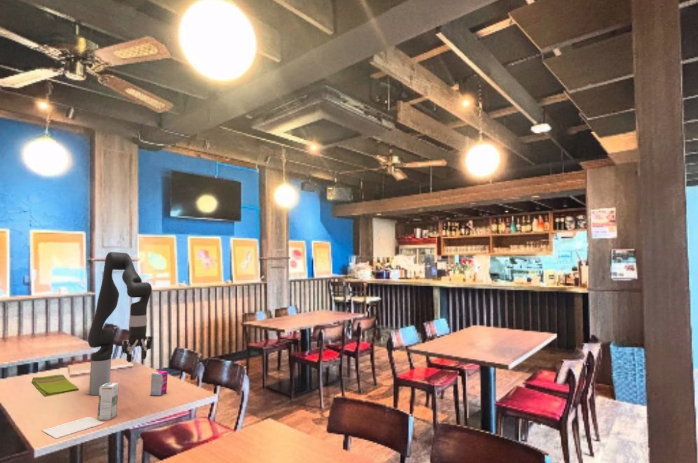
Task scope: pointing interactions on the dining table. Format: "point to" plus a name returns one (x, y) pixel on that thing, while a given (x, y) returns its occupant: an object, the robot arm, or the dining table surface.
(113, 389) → the syrup box
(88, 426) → the white rectangular panel
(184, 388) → the dining table surface
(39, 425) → the dining table surface
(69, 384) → the dish towel
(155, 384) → the supplement box
